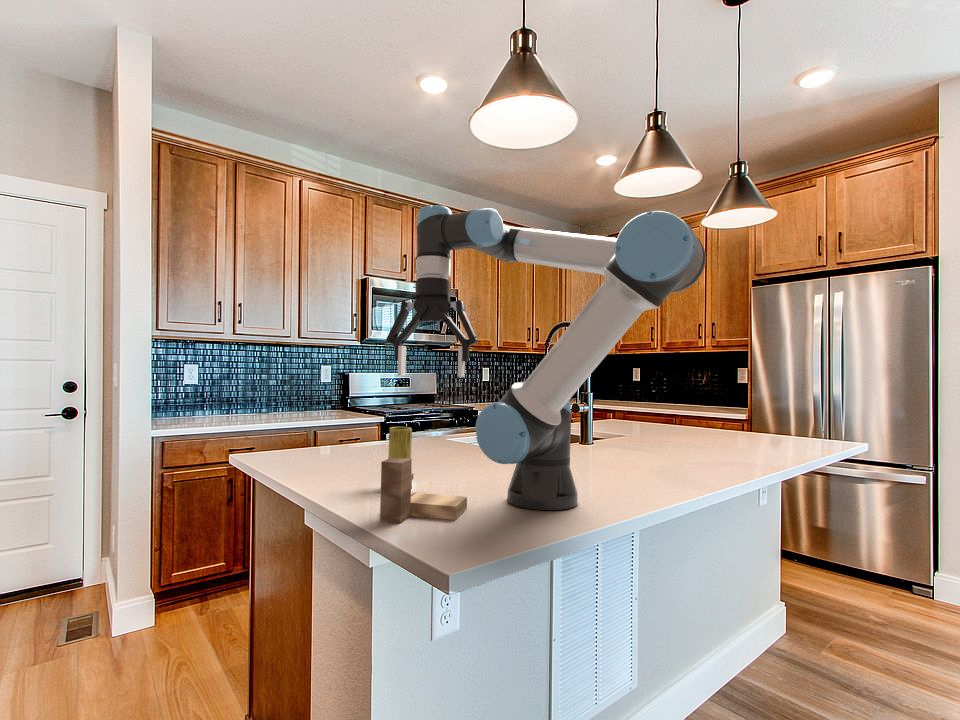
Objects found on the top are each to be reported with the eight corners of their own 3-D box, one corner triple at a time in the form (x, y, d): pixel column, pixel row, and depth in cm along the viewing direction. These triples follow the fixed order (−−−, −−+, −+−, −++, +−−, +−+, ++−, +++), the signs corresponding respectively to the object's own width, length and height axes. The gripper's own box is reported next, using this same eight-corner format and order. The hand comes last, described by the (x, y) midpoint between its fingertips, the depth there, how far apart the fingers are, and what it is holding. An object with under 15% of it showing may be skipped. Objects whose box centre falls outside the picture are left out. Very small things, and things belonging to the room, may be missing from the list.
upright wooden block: (419, 510, 105) (420, 454, 106) (400, 523, 96) (401, 463, 96) (400, 508, 106) (401, 453, 107) (379, 521, 97) (381, 461, 97)
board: (466, 509, 107) (467, 496, 107) (455, 519, 99) (456, 506, 99) (402, 503, 110) (402, 491, 110) (386, 513, 102) (386, 500, 102)
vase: (405, 492, 120) (407, 429, 120) (381, 490, 122) (383, 428, 122) (416, 486, 126) (417, 427, 126) (392, 484, 128) (394, 426, 128)
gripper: (492, 280, 116) (490, 377, 115) (386, 282, 121) (384, 374, 121) (485, 274, 108) (482, 377, 108) (373, 277, 114) (370, 375, 113)
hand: (430, 376), depth 114 cm, fingers open, 13 cm apart
